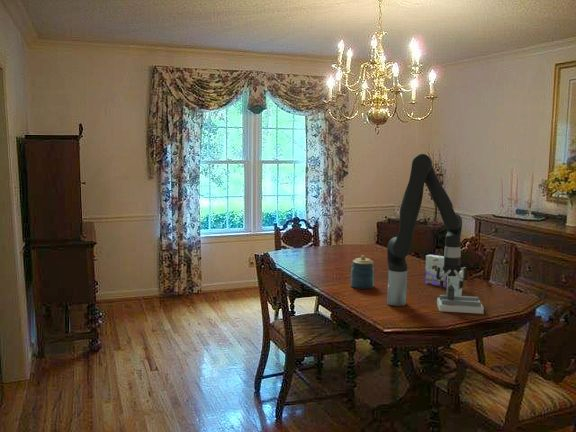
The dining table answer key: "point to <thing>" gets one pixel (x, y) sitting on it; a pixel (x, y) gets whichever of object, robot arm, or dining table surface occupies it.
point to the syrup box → (456, 284)
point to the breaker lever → (450, 292)
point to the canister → (362, 273)
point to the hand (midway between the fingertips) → (451, 288)
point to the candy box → (434, 270)
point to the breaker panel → (459, 308)
